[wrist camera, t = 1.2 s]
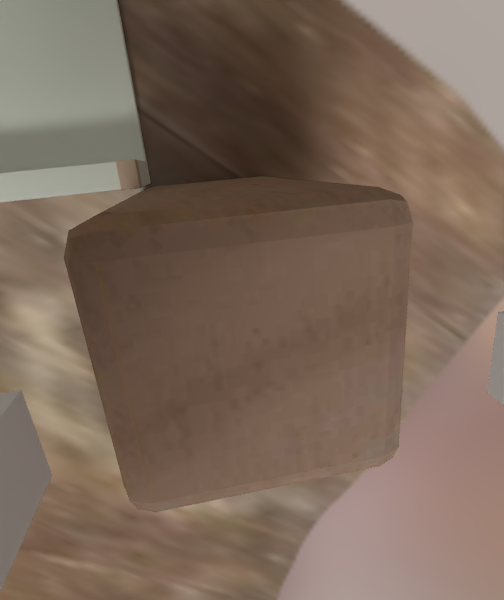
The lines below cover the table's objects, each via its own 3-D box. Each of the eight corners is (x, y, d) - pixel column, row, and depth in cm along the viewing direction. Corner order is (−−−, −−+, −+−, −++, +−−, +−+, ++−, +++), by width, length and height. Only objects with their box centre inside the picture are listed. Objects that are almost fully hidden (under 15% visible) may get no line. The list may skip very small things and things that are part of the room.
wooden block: (138, 187, 27) (40, 226, 9) (271, 174, 29) (431, 185, 10) (161, 313, 31) (125, 532, 12) (279, 296, 32) (409, 473, 14)
